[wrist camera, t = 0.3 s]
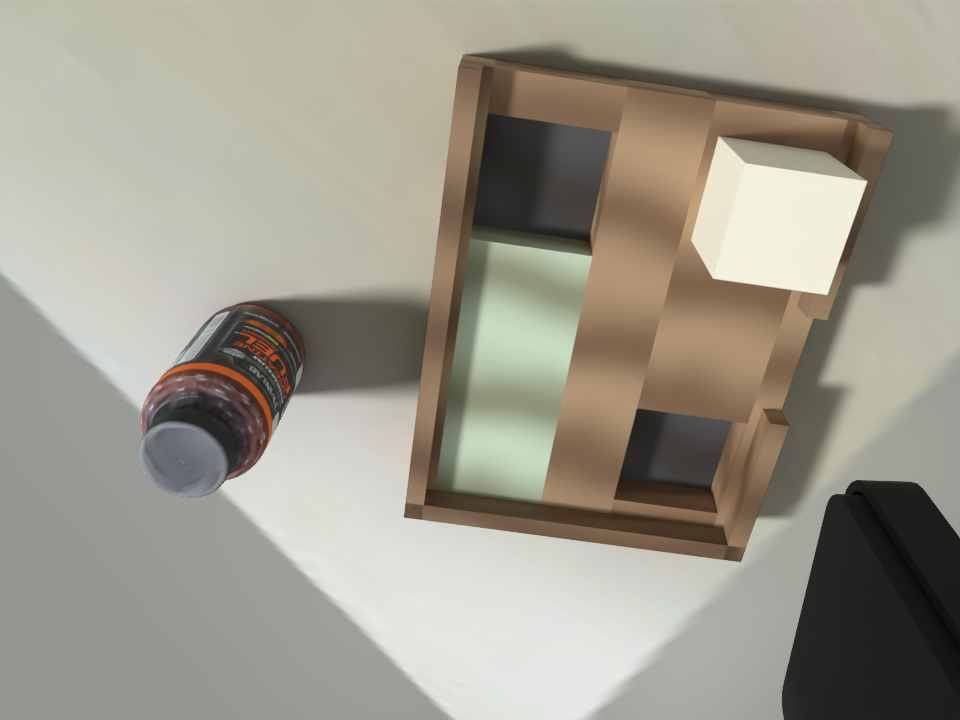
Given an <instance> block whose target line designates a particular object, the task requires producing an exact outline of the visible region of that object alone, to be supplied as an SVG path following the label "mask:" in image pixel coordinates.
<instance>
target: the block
mask: <svg viewBox="0 0 960 720" xmlns="http://www.w3.org/2000/svg"><path fill="white" fill-rule="evenodd" d="M866 184H867V181H866V180H865V179H863V178H862V177H861V176H859V175H858V174H856V173H855V172H854V171H852V170H851V169H849V168H848V167H847V166H845V165H844V164H842V163H841V162H840V161H838V160H837V159H835V158H834V157H833V156H831V155H830V154H828V153H827V152H822V151H816V150H809V149H802V148H795V147H789V146H782V145H775V144H769V143H762V142H755V141H748V140H742V139H735V138H728V137H722V136H719V137H718V140H717V144H716V148H715V152H714V156H713V159H712V163H711V167H710V171H709V174H708V178H707V182H706V186H705V190H704V193H703V197H702V201H701V205H700V208H699V212H698V216H697V220H696V224H695V227H694V231H693V235H692V239H691V241H692V243H693V245H694V246H695V248H696V250H697V252H698V253H699V255H700V257H701V259H702V260H703V262H704V264H705V266H706V267H707V269H708V271H709V273H710V274H711V276H712V278H713V279H719V280H726V281H733V282H740V283H747V284H754V285H761V286H768V287H775V288H782V289H789V290H796V291H803V292H810V293H816V294H823V295H827V294H828V292H829V289H830V286H831V283H832V280H833V277H834V275H835V272H836V269H837V266H838V263H839V260H840V258H841V255H842V252H843V249H844V246H845V243H846V241H847V238H848V235H849V232H850V229H851V226H852V224H853V221H854V218H855V215H856V212H857V209H858V207H859V204H860V201H861V198H862V195H863V192H864V189H865V187H866Z"/></svg>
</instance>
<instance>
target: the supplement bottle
mask: <svg viewBox="0 0 960 720" xmlns="http://www.w3.org/2000/svg"><path fill="white" fill-rule="evenodd" d="M304 362H305V354H304V349H303V345H302V342H301V340H300V338H299V336H298V334H297V332H296V331H295V329H294V328H293V327H292V326H291V325H290V324H289V322H288V321H287V320H286V319H284V318H283V317H281V316H280V315H279V314H277V313H275V312H273V311H271V310H269V309H266V308H263V307H260V306H254V305H251V304H244V305H235V306H231V307H227V308H225V309H223V310H220V311H219V312H217V313H216V314H214V315H213V316H212V317H211V318H210V319H209V320H208V321H207V322H206V323H205V324H204V325H203V326H202V327H201V328H200V330H199V331H198V333H197V334H196V335H195V336H194V338H193V339H192V340H191V341H190V342H189V344H188V345H187V346H186V347H185V349H184V350H183V351H182V352H181V354H180V355H179V356H178V357H177V359H176V360H175V361H174V362H173V364H172V365H171V366H170V367H169V368H168V370H167V371H166V372H165V373H164V375H163V376H162V377H161V378H160V380H159V381H158V382H157V383H156V385H155V386H154V387H153V388H152V390H151V391H150V393H149V394H148V396H147V399H146V400H145V403H144V405H143V409H142V414H141V425H142V432H143V435H144V436H143V438H142V440H141V442H140V445H139V451H138V453H139V461H140V464H141V467H142V469H143V471H144V472H145V474H146V476H147V477H148V478H149V480H150V481H151V482H153V483H154V484H155V485H156V486H157V487H158V488H161V489H162V490H164V491H165V492H168V493H170V494H172V495H176V496H180V497H187V498H193V497H202V496H206V495H208V494H210V493H212V492H214V491H215V490H217V489H218V488H219V487H220V486H221V485H222V484H223V483H224V481H226V480H230V479H233V478H236V477H238V476H240V475H242V474H243V473H245V472H247V471H248V470H249V469H251V468H252V467H253V466H254V465H255V464H256V463H257V461H258V460H259V459H260V457H261V456H262V454H263V453H264V451H265V449H266V447H267V445H268V443H269V441H270V439H271V437H272V435H273V433H274V431H275V429H276V427H277V425H278V423H279V421H280V420H281V417H282V415H283V413H284V411H285V409H286V407H287V405H288V403H289V401H290V399H291V397H292V395H293V393H294V391H295V389H296V387H297V385H298V383H299V381H300V378H301V375H302V373H303V369H304Z"/></svg>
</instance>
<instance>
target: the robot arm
mask: <svg viewBox="0 0 960 720" xmlns="http://www.w3.org/2000/svg"><path fill="white" fill-rule="evenodd" d="M782 708H783V716H784V720H960V538H959V536H958V535H957V534H956V532H955V531H954V530H953V528H952V527H951V526H950V524H949V523H948V522H947V520H946V519H945V518H944V516H943V515H942V513H941V512H940V511H939V509H938V508H937V507H936V505H935V504H934V503H933V501H932V500H931V499H930V497H929V496H928V495H927V493H926V492H925V491H924V489H923V488H921V486H919V485H918V484H916V483H913V482H897V481H865V480H864V481H863V480H856V481H854V482H852V483H851V484H850V485H849V486H848V488H847V489H846V492H845V494H835V495H833V496H831V498H830V499H829V501H828V504H827V507H826V510H825V515H824V519H823V523H822V527H821V531H820V536H819V539H818V544H817V548H816V552H815V556H814V560H813V564H812V569H811V573H810V577H809V581H808V585H807V589H806V593H805V597H804V602H803V606H802V610H801V614H800V618H799V622H798V627H797V631H796V635H795V639H794V643H793V648H792V651H791V656H790V660H789V664H788V668H787V672H786V677H785V680H784V685H783V691H782Z"/></svg>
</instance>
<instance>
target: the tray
mask: <svg viewBox="0 0 960 720" xmlns="http://www.w3.org/2000/svg"><path fill="white" fill-rule="evenodd" d="M893 135H894V132H892V131H890V130H889V129H887V128H885V127H883V126H881V125H879V124H877V123H876V122H874V121H872V120H870V119H868V118H866V117H864V116H862V115H861V114H854V113H848V112H841V111H834V110H828V109H821V108H814V107H808V106H801V105H794V104H788V103H781V102H774V101H768V100H761V99H755V98H748V97H741V96H735V95H728V94H721V93H715V92H708V91H701V90H695V89H688V88H681V87H675V86H668V85H662V84H655V83H648V82H642V81H635V80H628V79H622V78H615V77H608V76H602V75H595V74H588V73H582V72H575V71H569V70H562V69H555V68H549V67H542V66H535V65H529V64H522V63H515V62H509V61H502V60H495V59H489V58H482V57H476V56H469V55H463V57H462V59H461V62H460V65H459V67H458V75H457V83H456V92H455V100H454V108H453V117H452V125H451V133H450V141H449V150H448V158H447V166H446V174H445V183H444V191H443V199H442V207H441V216H440V224H439V232H438V240H437V249H436V257H435V265H434V273H433V282H432V290H431V298H430V306H429V315H428V323H427V331H426V339H425V348H424V356H423V364H422V372H421V381H420V389H419V397H418V406H417V414H416V422H415V430H414V439H413V447H412V455H411V463H410V472H409V480H408V488H407V496H406V505H405V513H404V517H405V518H413V519H420V520H428V521H435V522H443V523H450V524H458V525H465V526H473V527H480V528H488V529H495V530H503V531H511V532H518V533H526V534H533V535H541V536H548V537H556V538H563V539H571V540H578V541H586V542H593V543H601V544H609V545H616V546H624V547H631V548H639V549H646V550H654V551H661V552H669V553H676V554H684V555H691V556H699V557H707V558H714V559H722V560H729V561H737V562H741V560H742V557H743V554H744V552H745V549H746V546H747V543H748V540H749V538H750V535H751V532H752V529H753V526H754V524H755V521H756V518H757V515H758V513H759V510H760V507H761V504H762V501H763V499H764V496H765V493H766V490H767V487H768V485H769V482H770V479H771V476H772V473H773V471H774V468H775V465H776V462H777V459H778V457H779V454H780V451H781V448H782V445H783V443H784V440H785V437H786V434H787V431H788V429H789V425H788V423H787V421H786V419H785V417H784V416H783V414H782V412H781V410H782V407H783V404H784V402H785V399H786V396H787V393H788V390H789V387H790V384H791V382H792V379H793V376H794V373H795V370H796V367H797V364H798V362H799V359H800V356H801V353H802V350H803V347H804V344H805V341H806V339H807V336H808V333H809V330H810V327H811V324H812V321H813V319H820V320H827V319H828V317H829V314H830V311H831V308H832V306H833V303H834V300H835V297H836V294H837V292H838V289H839V286H840V283H841V280H842V278H843V275H844V272H845V269H846V266H847V264H848V261H849V258H850V255H851V252H852V250H853V247H854V244H855V241H856V238H857V236H858V233H859V230H860V227H861V224H862V222H863V219H864V216H865V213H866V210H867V208H868V205H869V202H870V199H871V196H872V194H873V191H874V188H875V185H876V182H877V180H878V177H879V174H880V171H881V168H882V166H883V163H884V160H885V157H886V154H887V152H888V149H889V146H890V143H891V140H892V138H893ZM719 136H722V137H728V138H735V139H742V140H748V141H755V142H762V143H769V144H775V145H782V146H789V147H795V148H802V149H809V150H816V151H822V152H827V153H828V154H830V155H831V156H833V157H834V158H835V159H837V160H838V161H840V162H841V163H842V164H844V165H845V166H847V167H848V168H849V169H851V170H852V171H854V172H855V173H856V174H858V175H859V176H861V177H862V178H863V179H865V180H866V181H867V184H866V187H865V189H864V192H863V195H862V198H861V201H860V204H859V207H858V209H857V212H856V215H855V218H854V221H853V224H852V226H851V229H850V232H849V235H848V238H847V241H846V243H845V246H844V249H843V252H842V255H841V258H840V260H839V263H838V266H837V269H836V272H835V275H834V277H833V280H832V283H831V286H830V289H829V292H828V294H827V295H823V294H816V293H810V292H803V291H796V290H789V289H782V288H775V287H768V286H761V285H754V284H747V283H740V282H733V281H726V280H719V279H713V278H712V276H711V274H710V273H709V271H708V269H707V267H706V266H705V264H704V262H703V260H702V259H701V257H700V255H699V253H698V252H697V250H696V248H695V246H694V245H693V243H692V241H691V239H692V235H693V231H694V227H695V224H696V220H697V216H698V212H699V208H700V205H701V201H702V197H703V193H704V190H705V186H706V182H707V178H708V174H709V171H710V167H711V163H712V159H713V156H714V152H715V148H716V144H717V140H718V137H719Z"/></svg>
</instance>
